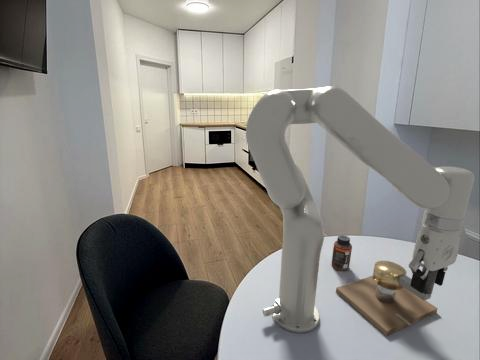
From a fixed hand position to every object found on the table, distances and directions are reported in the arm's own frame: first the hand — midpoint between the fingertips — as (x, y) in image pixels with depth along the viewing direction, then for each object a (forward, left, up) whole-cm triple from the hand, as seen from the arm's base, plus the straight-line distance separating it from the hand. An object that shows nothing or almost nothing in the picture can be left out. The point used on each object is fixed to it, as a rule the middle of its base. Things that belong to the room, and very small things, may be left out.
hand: (426, 285), depth 70 cm
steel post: (0, +10, -11) cm, 15 cm away
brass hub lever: (0, +6, -5) cm, 8 cm away
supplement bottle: (+1, +29, -13) cm, 32 cm away
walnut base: (0, +10, -13) cm, 16 cm away
